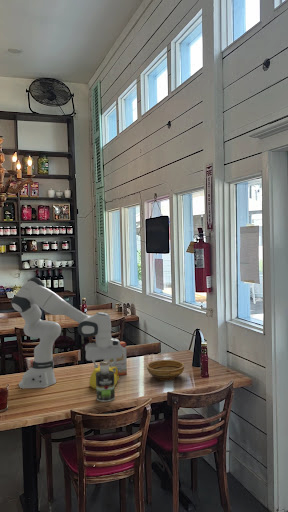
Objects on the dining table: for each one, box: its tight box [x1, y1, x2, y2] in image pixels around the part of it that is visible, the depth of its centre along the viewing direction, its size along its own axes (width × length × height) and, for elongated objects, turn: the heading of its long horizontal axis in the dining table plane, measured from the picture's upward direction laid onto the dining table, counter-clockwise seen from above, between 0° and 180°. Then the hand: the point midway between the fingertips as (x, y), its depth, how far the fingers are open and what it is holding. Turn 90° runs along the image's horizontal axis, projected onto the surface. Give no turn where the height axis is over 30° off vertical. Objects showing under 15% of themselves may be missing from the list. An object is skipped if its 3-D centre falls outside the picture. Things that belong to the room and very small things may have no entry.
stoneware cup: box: [99, 360, 109, 375], centre depth 240 cm, size 5×5×6 cm
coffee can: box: [95, 371, 116, 403], centre depth 240 cm, size 10×10×14 cm
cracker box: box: [103, 341, 128, 377], centre depth 281 cm, size 14×6×21 cm, turn 115°
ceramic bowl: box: [145, 359, 186, 381], centre depth 273 cm, size 30×24×8 cm
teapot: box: [89, 366, 120, 390], centre depth 260 cm, size 20×19×13 cm
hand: (104, 366), depth 240 cm, fingers open, 8 cm apart
